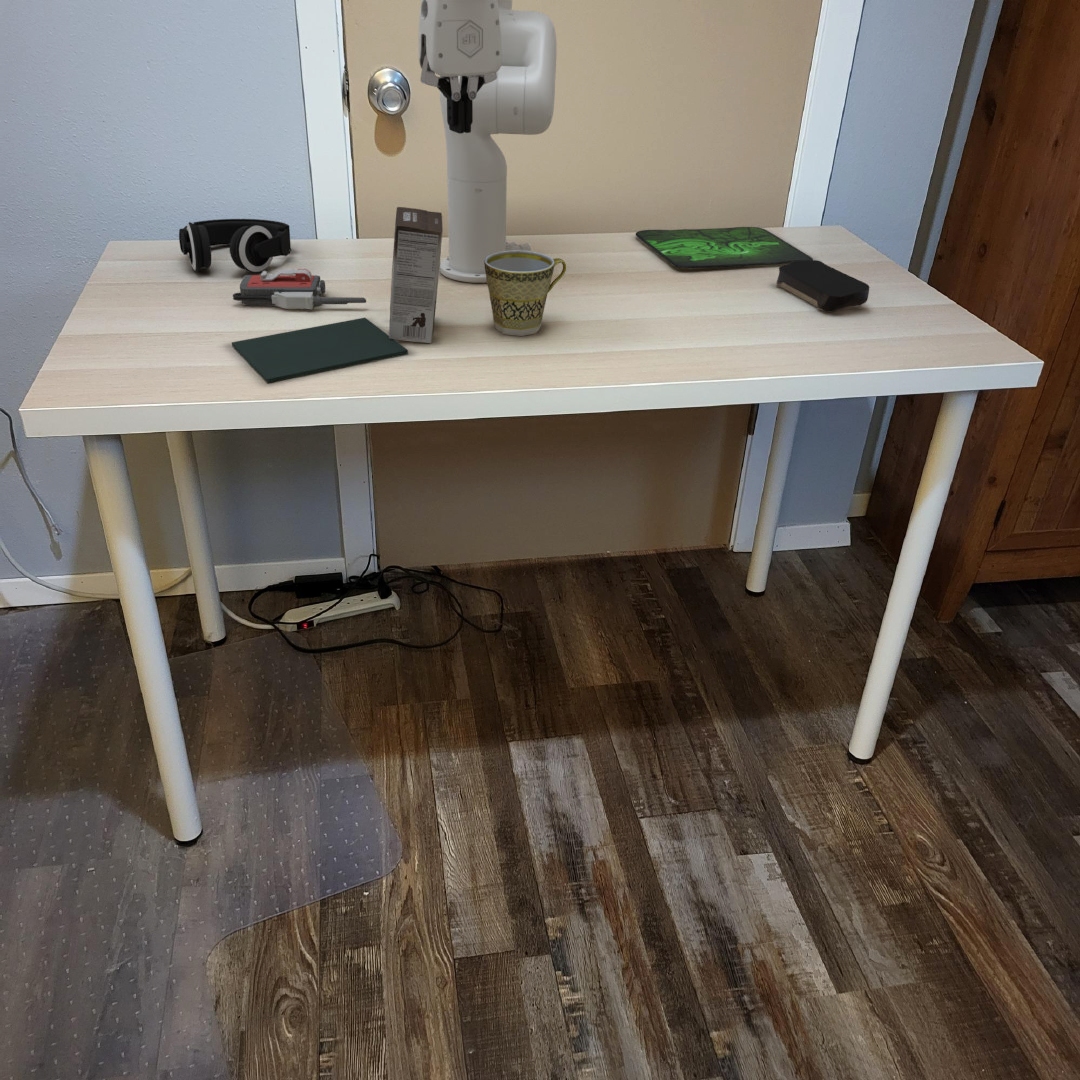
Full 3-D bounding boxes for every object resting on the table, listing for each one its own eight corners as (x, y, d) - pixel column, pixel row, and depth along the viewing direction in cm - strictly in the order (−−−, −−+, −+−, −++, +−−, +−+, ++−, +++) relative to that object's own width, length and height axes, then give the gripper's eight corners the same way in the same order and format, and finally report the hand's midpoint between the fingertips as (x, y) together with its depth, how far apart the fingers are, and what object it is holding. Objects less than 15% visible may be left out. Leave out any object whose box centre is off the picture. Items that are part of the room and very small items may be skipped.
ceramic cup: (506, 345, 138) (507, 276, 133) (472, 322, 145) (471, 255, 140) (581, 329, 144) (585, 262, 139) (545, 308, 151) (547, 243, 146)
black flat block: (871, 311, 155) (876, 288, 153) (827, 316, 152) (832, 293, 150) (810, 279, 167) (814, 257, 165) (769, 283, 164) (772, 262, 162)
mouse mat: (760, 228, 192) (761, 222, 191) (818, 262, 174) (819, 257, 174) (631, 235, 185) (631, 230, 184) (677, 272, 167) (678, 266, 167)
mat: (365, 321, 144) (365, 317, 144) (408, 353, 135) (407, 349, 134) (232, 346, 135) (231, 342, 135) (267, 383, 125) (267, 379, 125)
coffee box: (389, 316, 144) (396, 205, 136) (433, 320, 145) (442, 211, 137) (387, 339, 137) (394, 223, 128) (433, 344, 138) (443, 229, 129)
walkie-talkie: (230, 311, 146) (366, 312, 147) (226, 282, 143) (364, 283, 145) (241, 291, 153) (370, 292, 155) (237, 263, 151) (368, 264, 152)
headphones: (160, 225, 153) (195, 206, 171) (167, 276, 156) (200, 252, 174) (275, 229, 154) (297, 209, 172) (279, 279, 157) (301, 255, 175)
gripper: (417, -25, 114) (422, 141, 124) (525, -25, 121) (522, 132, 131) (389, -29, 120) (396, 130, 130) (494, -30, 127) (493, 122, 137)
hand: (460, 131), depth 131 cm, fingers closed
